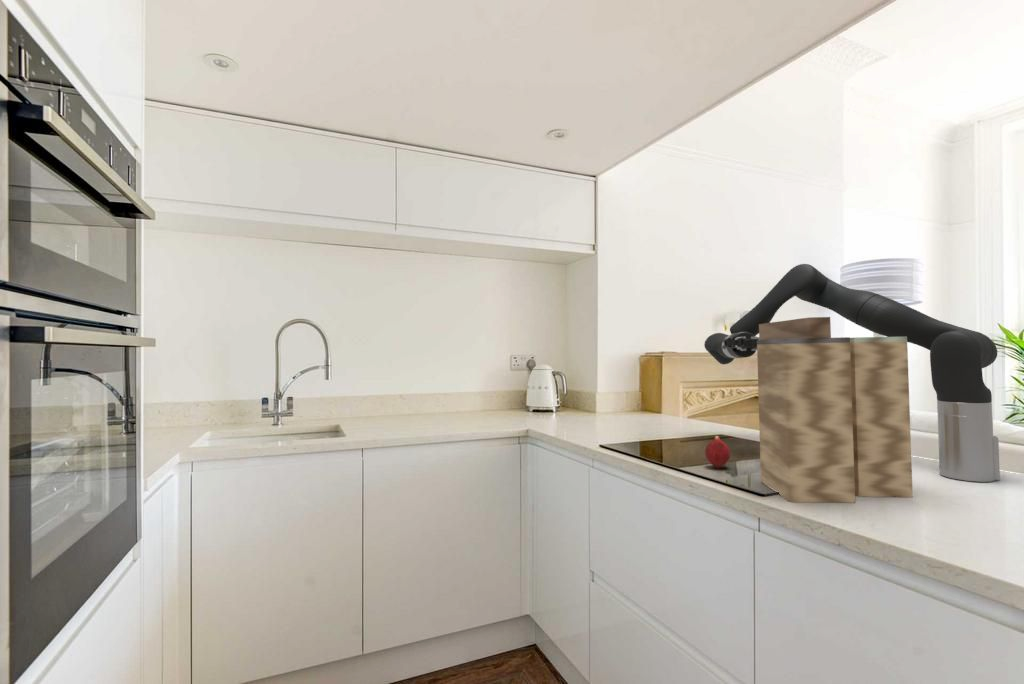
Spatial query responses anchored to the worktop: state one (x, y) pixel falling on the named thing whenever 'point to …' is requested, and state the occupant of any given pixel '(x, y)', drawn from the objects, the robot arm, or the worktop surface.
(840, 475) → the tower
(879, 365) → the tower
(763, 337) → the walnut bar
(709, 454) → the onion
